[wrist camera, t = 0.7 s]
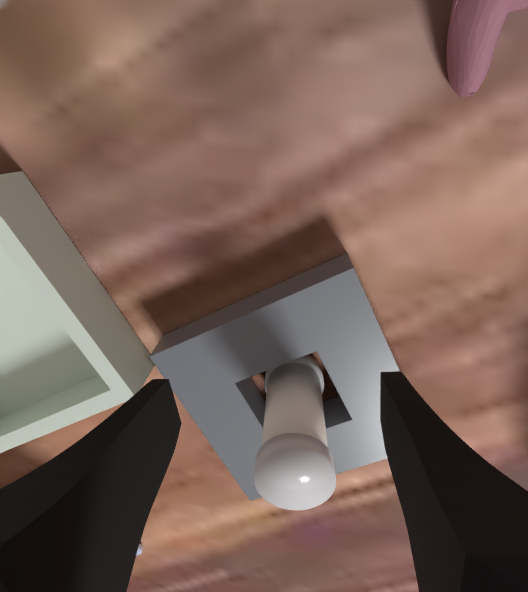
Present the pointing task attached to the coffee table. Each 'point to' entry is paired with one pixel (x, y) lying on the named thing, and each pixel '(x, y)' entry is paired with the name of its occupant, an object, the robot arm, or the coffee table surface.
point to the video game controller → (474, 40)
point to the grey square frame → (274, 352)
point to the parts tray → (55, 326)
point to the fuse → (294, 438)
